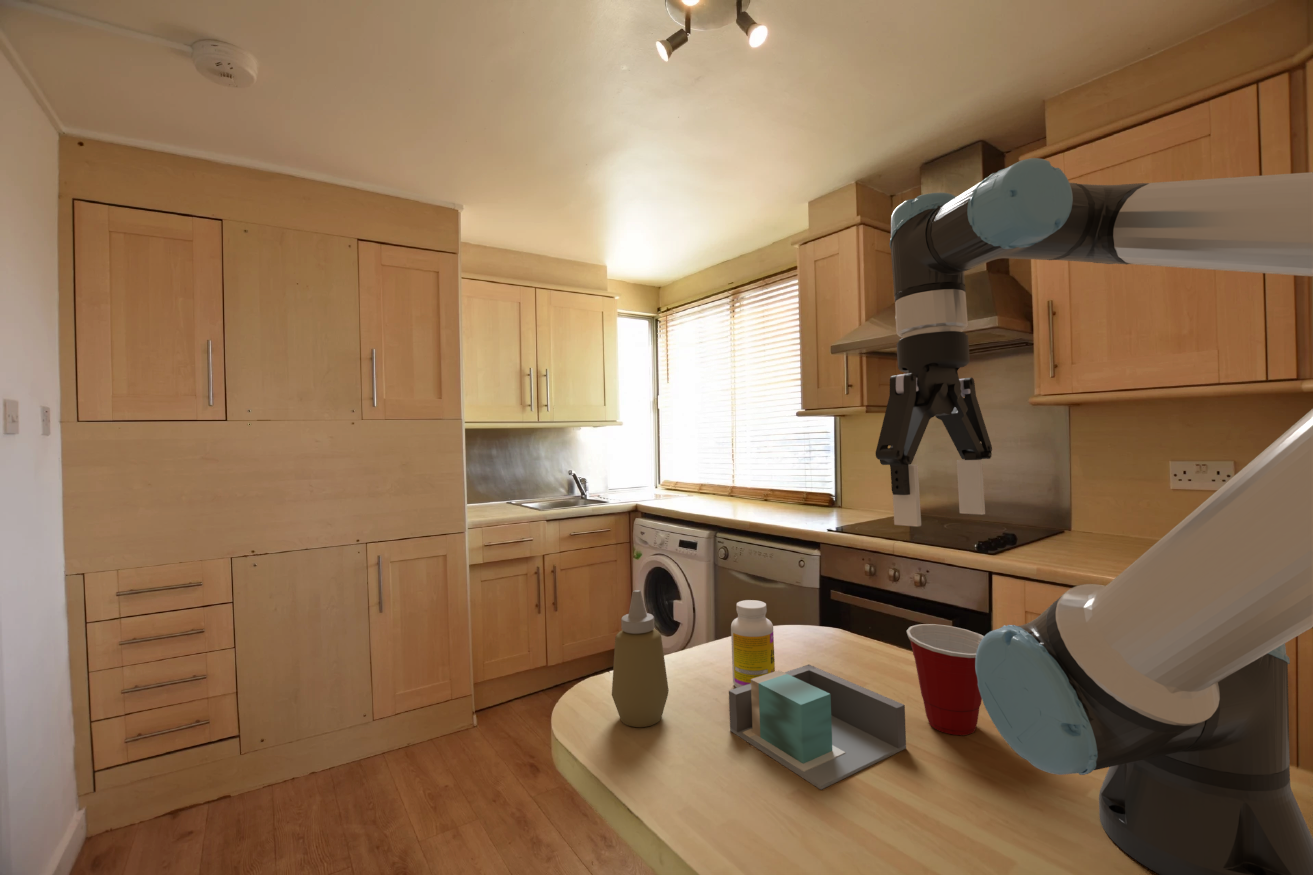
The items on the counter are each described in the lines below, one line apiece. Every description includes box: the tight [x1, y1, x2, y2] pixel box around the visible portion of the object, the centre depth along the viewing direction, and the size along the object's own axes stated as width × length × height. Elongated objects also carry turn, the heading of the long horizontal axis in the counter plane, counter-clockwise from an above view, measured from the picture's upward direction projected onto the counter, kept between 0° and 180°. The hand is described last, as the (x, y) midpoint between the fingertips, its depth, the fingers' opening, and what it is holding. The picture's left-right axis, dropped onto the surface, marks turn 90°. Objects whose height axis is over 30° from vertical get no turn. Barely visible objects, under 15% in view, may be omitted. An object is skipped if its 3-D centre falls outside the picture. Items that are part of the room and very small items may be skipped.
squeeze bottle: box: [611, 589, 669, 728], centre depth 83 cm, size 8×8×18 cm
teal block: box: [751, 669, 832, 764], centre depth 75 cm, size 9×5×7 cm, turn 32°
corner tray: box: [728, 664, 907, 790], centre depth 76 cm, size 16×15×5 cm
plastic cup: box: [906, 623, 985, 736], centre depth 78 cm, size 11×11×12 cm
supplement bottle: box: [730, 599, 776, 688], centre depth 93 cm, size 7×7×13 cm
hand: (941, 519), depth 68 cm, fingers open, 13 cm apart
